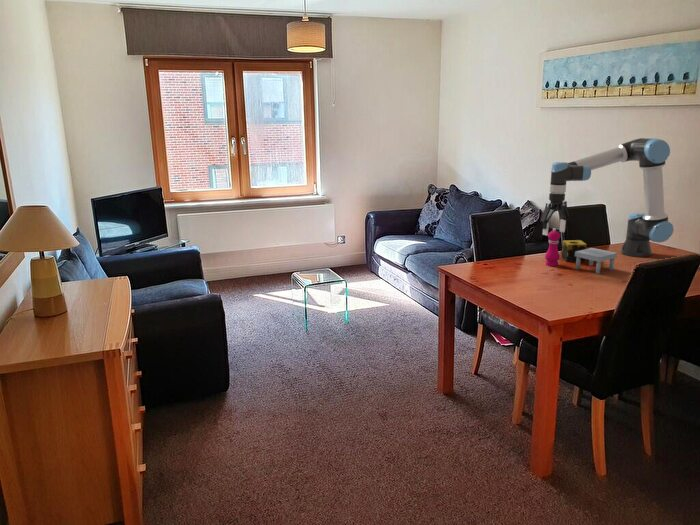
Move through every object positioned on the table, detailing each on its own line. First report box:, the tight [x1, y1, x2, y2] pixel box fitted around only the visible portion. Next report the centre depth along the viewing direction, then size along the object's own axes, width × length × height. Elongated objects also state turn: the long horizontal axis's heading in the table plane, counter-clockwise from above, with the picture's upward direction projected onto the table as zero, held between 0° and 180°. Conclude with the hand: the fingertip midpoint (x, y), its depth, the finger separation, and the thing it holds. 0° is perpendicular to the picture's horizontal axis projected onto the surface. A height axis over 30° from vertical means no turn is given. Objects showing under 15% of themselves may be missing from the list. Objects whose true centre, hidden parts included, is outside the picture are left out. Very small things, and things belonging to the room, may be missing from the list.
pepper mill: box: [544, 227, 561, 267], centre depth 271 cm, size 7×7×20 cm
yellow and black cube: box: [561, 239, 587, 263], centre depth 282 cm, size 10×10×10 cm
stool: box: [575, 247, 618, 275], centre depth 263 cm, size 14×14×9 cm
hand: (553, 233), depth 269 cm, fingers open, 13 cm apart
